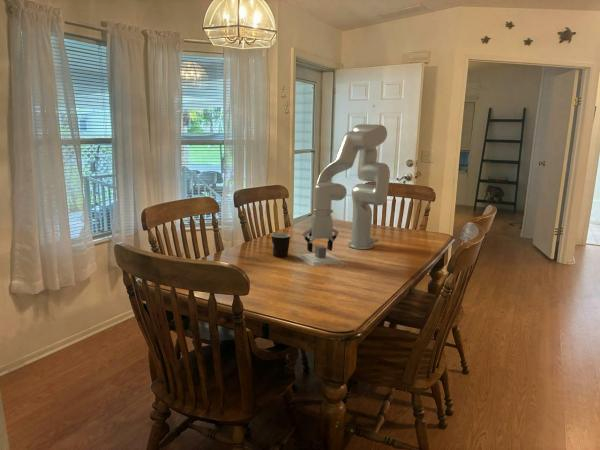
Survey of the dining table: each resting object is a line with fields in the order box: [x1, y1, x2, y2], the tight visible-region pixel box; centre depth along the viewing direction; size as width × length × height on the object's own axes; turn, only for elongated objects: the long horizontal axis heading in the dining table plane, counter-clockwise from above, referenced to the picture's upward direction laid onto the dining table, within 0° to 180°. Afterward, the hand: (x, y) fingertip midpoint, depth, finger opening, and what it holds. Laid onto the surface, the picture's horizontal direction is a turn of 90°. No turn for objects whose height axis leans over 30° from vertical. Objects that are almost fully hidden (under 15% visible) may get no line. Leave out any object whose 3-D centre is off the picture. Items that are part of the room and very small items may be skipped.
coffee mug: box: [270, 232, 291, 259], centre depth 203 cm, size 12×9×10 cm
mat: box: [297, 255, 345, 267], centre depth 199 cm, size 16×16×1 cm
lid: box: [300, 245, 341, 265], centre depth 199 cm, size 13×13×6 cm
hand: (319, 250), depth 198 cm, fingers open, 9 cm apart
